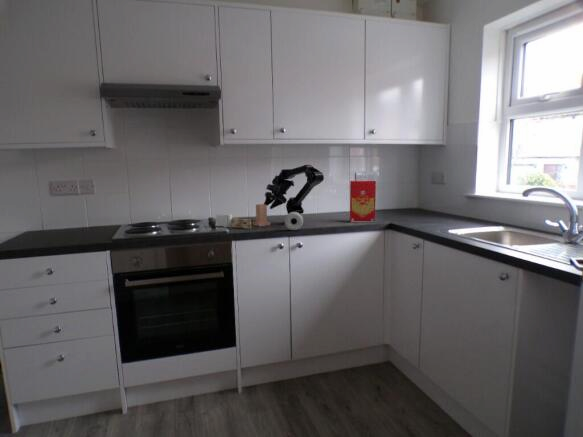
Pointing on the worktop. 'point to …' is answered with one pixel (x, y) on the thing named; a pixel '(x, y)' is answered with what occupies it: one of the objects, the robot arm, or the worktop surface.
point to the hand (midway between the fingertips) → (266, 207)
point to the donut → (291, 216)
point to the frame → (224, 220)
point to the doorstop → (261, 215)
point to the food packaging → (362, 200)
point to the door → (241, 223)
